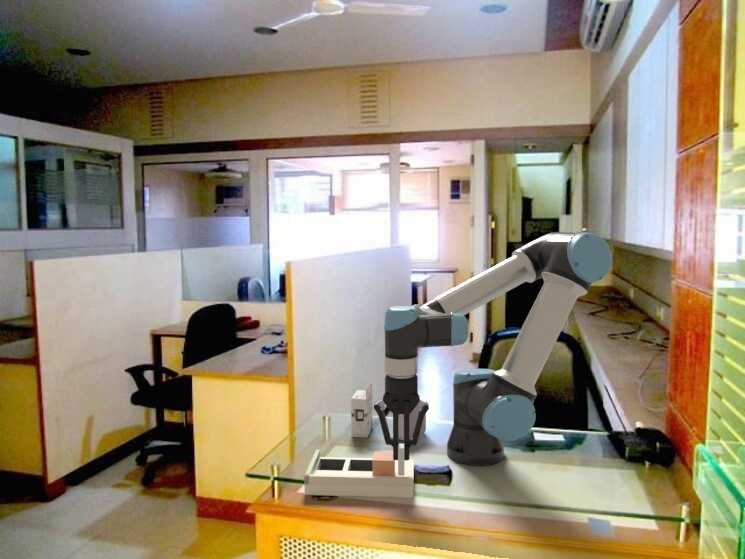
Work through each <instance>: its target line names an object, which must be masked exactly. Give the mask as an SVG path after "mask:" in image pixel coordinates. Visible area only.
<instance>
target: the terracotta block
mask: <svg viewBox="0 0 745 559" xmlns="http://www.w3.org/2000/svg"><path fill="white" fill-rule="evenodd" d="M372 458H373V460H372V470H373V476H395V460H394V459H393V451H378V450H377V451H373V455H372Z"/></svg>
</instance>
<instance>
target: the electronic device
mask: <svg viewBox="0 0 745 559" xmlns="http://www.w3.org/2000/svg"><path fill="white" fill-rule="evenodd" d="M423 402H424V403H425V402H426V401H423ZM418 406H419V405H418V404H417V406H416V407H415V408H414V410H413V411H412V412H411V413H410V414H409V439H410V438H412V436H413V432H414V428H415V425H416V421H417V417H418V413H419V410H418ZM426 422H427V413H426V414H425V415H424V419H423V422H422V426H421V430H420V434H419V437H420V436H422V435H424V434H425V432H426V429H427V423H426ZM399 440H401V441H403V442H404V415H403V414H399Z"/></svg>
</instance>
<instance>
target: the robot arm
mask: <svg viewBox="0 0 745 559" xmlns="http://www.w3.org/2000/svg"><path fill="white" fill-rule="evenodd" d="M612 263H613V257H612V252H611V250H610V245H609V244H608V243H607V241H606V240H605V239H604V238H603V237H601V235H598V234H597V233H592V232H588V231H587V232H586V231H577V232H569V231H568V232H567V231H566V232H564V231H555V232H553V231H552V232H550V233H547V234H544V235H542V236H541V235H540V237H538V238H536V239H534V240H532V241H530V242H528V243H526V244H525V245H522V246H520V247H519V248H517V249H514V251H512V253H511V257H508V258H506V259H505V260H503V261H501V262H499V263H497V264H496V265H494V266H492V267H490V268H489V269H486V270H485V271H483V272H481V273H479V274H477V275H476V276H473V277H471V278H469V279H467V280H466V281H464V282H462V283H460V284H459V285H457V286H455V287H453V288H451V289H449V290H448V291H446V292H444V293H442V294H440V295H438V296H436V297H435V298H432V299H431V300H429V301H427V302H425V303H423V304H421V303H419V304H413V305H411V306H410V305H409V306H407V305H405V306H403V305H398V306H397V305H395V306H391V307H388V308H387V309H386V310H385V312H384V314H385V315H384V326H383V329H384V373H385V376H384V394H383V396H382V399H381V400H379V401H374V404H373V409H374V411H375V412H376V413H377V415H378V419H379V423H380V427H381V431H382V435H383V438H384V443H385V444H386V446H387V445H389V446H392V452H393V459H394V460H398V475H400V476H404V471H405V460H409V459H410V449H411V446H417V444H418V441H419V437H420V436H419V434H420V430H421V426H422V422H423V419H424V415H425V414H426V415H427V412H428V411H429V409H430V408H429V407H430V406H429V405H430V404H429V403H428V402H427V401H423V400H421V398H420V395H419V393H418V391H419V390H418V388H419V387H418V386H419V384H418V383H419V382H418V381H419V380H418V379H419V377H418V375H417V374H418V370H419V369H418V366H419V361H418V359H419V358H418V356H419V353H418V350H419V348H435V347H437V348H438V347H455V346H460V345H461V346H462V345H464V344H466V342H467V340H468V338H469V332H470V330H469V328H470V327H469V322H468V319H467V318H466V315H467V314H469V313H471V312H473V311H474V310H476V309H478V308H480V307H482V306H484V305H486V304H487V303H489V302H491V301H493V300H494V299H496V298H499V297H500V296H502V295H504V294H505V293H507V292H509V291H511V290H513V289H515V288H517V287H518V286H520V285H522V284H524V283H530V284H532V283H533V282H535V281H538V280H539V279H543V280H542V281H543V284H542V286H541V289H540V291H538V292H539V293H538V294H537V297H536V299H535V300H534V302H533V305H532V307H531V309H530V310H529V312H528V314H527V316H526V318H525V320H524V322H523V324H522V327H521V328H520V330H519V333H518V334H517V337H516V339H515V341H514V342H513V345H512V347H511V348H510V350H509V352H508V355H507V357H506V359H505V360H504V362H503V364H502V367H501V368H500V369H497V370H495V369H492V368H491V369H490V368H467V369H466V368H465V369H461V370H458V371H455V373H454V376H453V383H452V386H453V392H452V393H453V395H452V396H453V400H452V401H453V424H452V425H453V426H452V429H451V431H450V434H449V437H448V440H447V443H446V454H447V456H448V457H449V458H450V459H451V460H453V461H455V462H458V463H460V464H465V465H471V466H490V465H495V464H497V463H499V462H501V461H502V460H503V459H504V456H505V446H504V444H503V442H513V441H516V440H520V439H522V438H524V437H525V436H526V435H528V434H529V433H530V431H531V430H532V429H533V427H534V426H535V422H536V419H537V417H536V415H537V414H536V409H535V406H534V402H535V400H536V398H537V396H538V393H537V390H536V387H535V385H536V383H537V381H538V379H539V377H540V375H541V373H542V370H543V368H544V366H545V364H546V363H547V360H548V359H549V357H550V354H551V352H552V351H553V348H554V347H555V344H556V342H557V340H558V338H559V336H560V334H561V332H562V330H563V328H564V326H565V324H566V322H567V319H568V318H569V316H570V314H571V311H572V309H573V307H574V306H575V304H576V301H577V300H578V298H579V297H582V296H585V295H587V294H588V292H589V291H590V289H591V286H592V284H593V283H596V282H597V283H598V282H599V281H602V280H603V279H604V278H606V277H607V275H608V274H609V272H610V270H611V266H612ZM424 402H425V403H424ZM417 404H418V405H419V406H418V410H419V413H418V417H417V421H416V425H415V428H414V432H413V436H412V438H410V439H409V414H410V413H411V412H412V411H413V410H414V408H415V407H416V406H417ZM385 406H386V407H387V409H388V410H389V411H390V412H391V414H392V437H391V433H390V428H389V425H388V421H387V418H386V417H387V416H386V413H385ZM399 414H403V415H404V441H403V443H399V440H400V439H399Z"/></svg>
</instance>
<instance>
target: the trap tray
mask: <svg viewBox="0 0 745 559" xmlns="http://www.w3.org/2000/svg"><path fill="white" fill-rule="evenodd" d="M372 460H373V457H369V458H368V457H340V456H339V457H336V456H335V457H331V456H330V457H329V456H321V449H315V451H314V454H313V456H312V458H311V460H310V463H309V465H308V467H307V470H306V471H305V473H304V476H303V479H304V496H334V497H336V496H337V497H364V498H365V497H369V498H398V499H399V498H401V499H402V498H403V499H405V498H406V499H414V492H413V489H414V480H415V479H414V477H415V476H414V473H415V471H414V470H415V469H414V467H415V465H414V464H415V462H414V458H409V460H405V471H404V476H400V475H398V460H395V476H373V470H372Z"/></svg>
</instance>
